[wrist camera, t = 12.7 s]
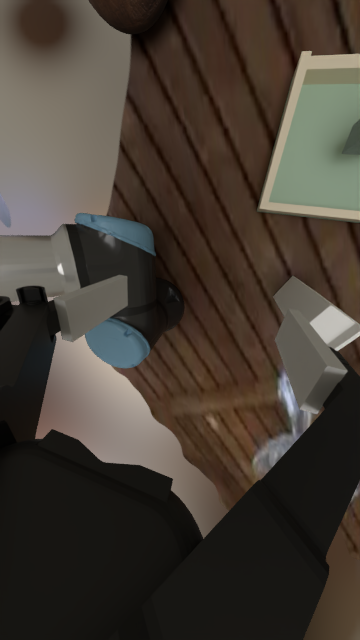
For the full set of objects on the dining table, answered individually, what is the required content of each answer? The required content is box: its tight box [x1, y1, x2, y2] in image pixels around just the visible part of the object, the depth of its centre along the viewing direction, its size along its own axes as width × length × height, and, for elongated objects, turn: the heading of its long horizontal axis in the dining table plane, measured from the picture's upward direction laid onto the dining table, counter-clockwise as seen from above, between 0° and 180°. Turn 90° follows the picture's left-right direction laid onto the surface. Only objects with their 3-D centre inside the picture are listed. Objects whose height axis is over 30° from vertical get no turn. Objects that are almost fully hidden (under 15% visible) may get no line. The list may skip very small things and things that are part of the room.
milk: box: [273, 276, 360, 351], centre depth 32 cm, size 6×6×22 cm
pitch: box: [257, 51, 360, 223], centre depth 28 cm, size 25×18×5 cm
